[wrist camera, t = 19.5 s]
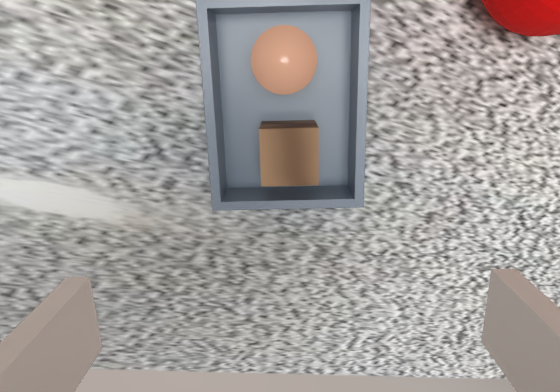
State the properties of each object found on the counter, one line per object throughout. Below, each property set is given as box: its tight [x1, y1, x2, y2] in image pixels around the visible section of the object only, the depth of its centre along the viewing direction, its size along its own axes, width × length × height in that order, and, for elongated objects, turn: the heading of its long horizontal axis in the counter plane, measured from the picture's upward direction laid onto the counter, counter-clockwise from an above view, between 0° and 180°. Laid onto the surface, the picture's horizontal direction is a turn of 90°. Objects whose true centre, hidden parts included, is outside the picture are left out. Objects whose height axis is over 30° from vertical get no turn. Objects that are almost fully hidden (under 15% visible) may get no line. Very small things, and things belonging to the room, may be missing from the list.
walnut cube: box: [259, 120, 319, 187], centre depth 38 cm, size 5×5×5 cm
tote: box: [196, 0, 371, 211], centre depth 38 cm, size 14×18×5 cm
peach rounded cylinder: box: [251, 25, 317, 95], centre depth 35 cm, size 5×5×7 cm
